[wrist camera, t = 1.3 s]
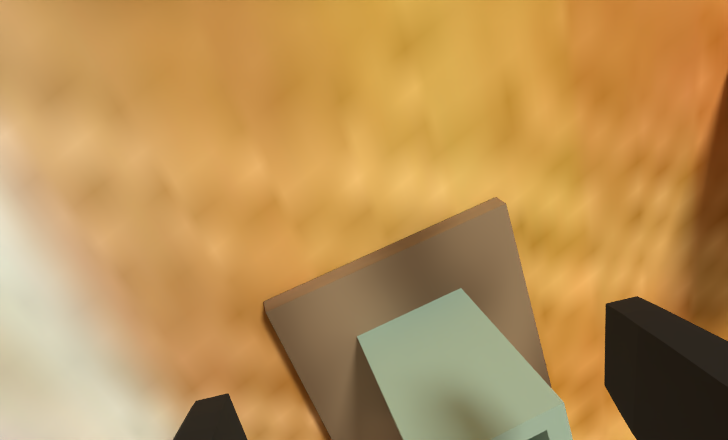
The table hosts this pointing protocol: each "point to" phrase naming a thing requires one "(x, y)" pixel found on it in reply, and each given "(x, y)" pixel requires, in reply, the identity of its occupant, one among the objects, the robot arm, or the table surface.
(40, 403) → the table surface
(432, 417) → the green sleeve
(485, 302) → the pin block
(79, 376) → the table surface
